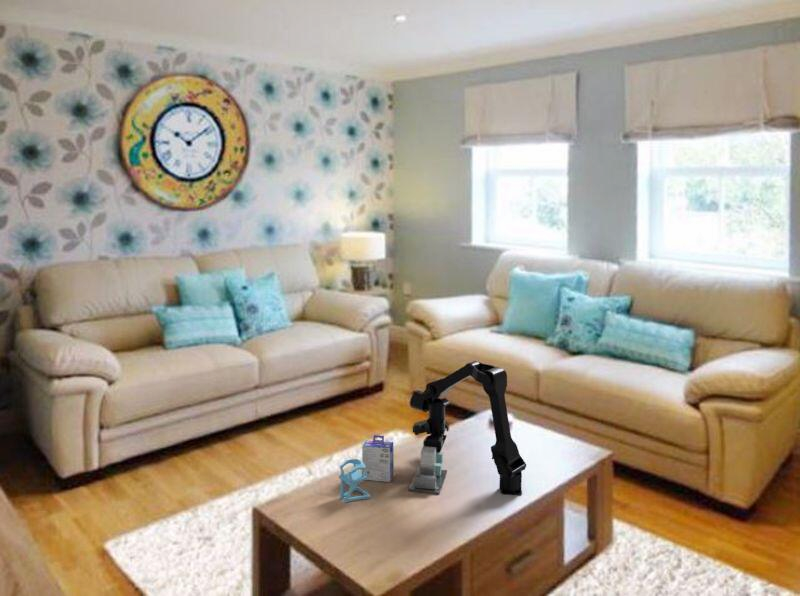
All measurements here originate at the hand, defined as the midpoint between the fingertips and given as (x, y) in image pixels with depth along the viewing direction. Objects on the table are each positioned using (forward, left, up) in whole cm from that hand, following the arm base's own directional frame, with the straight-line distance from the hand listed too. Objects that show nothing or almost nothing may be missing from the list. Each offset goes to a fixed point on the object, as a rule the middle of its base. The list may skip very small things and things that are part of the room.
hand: (436, 456), depth 231 cm
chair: (+25, +28, -2) cm, 38 cm away
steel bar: (+2, +15, -1) cm, 15 cm away
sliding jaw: (+1, +7, -1) cm, 7 cm away
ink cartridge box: (+19, +14, -2) cm, 24 cm away
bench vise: (+2, +15, -2) cm, 16 cm away
